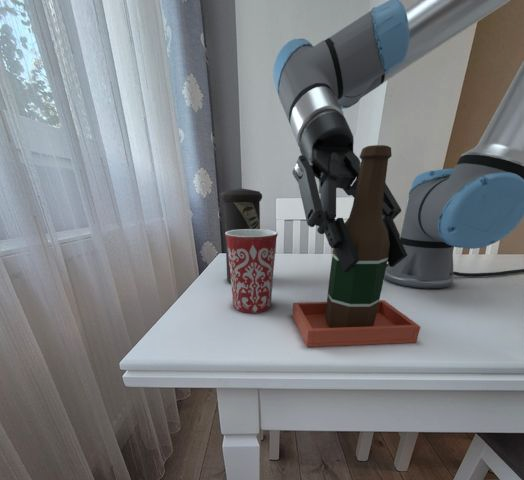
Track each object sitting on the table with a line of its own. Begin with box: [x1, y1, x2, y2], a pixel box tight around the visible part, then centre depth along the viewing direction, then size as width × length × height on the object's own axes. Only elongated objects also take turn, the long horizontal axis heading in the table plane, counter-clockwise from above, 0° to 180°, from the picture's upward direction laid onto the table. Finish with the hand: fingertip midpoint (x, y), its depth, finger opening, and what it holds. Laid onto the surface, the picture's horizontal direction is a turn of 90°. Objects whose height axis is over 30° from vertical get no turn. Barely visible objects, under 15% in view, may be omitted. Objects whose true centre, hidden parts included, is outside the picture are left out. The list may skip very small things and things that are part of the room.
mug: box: [224, 228, 279, 314], centre depth 55 cm, size 13×9×14 cm
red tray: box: [291, 299, 421, 348], centre depth 47 cm, size 17×12×3 cm
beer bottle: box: [326, 144, 393, 328], centre depth 42 cm, size 8×8×24 cm
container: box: [219, 188, 263, 284], centre depth 68 cm, size 9×9×20 cm
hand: (375, 263), depth 40 cm, fingers closed on beer bottle, 7 cm apart
